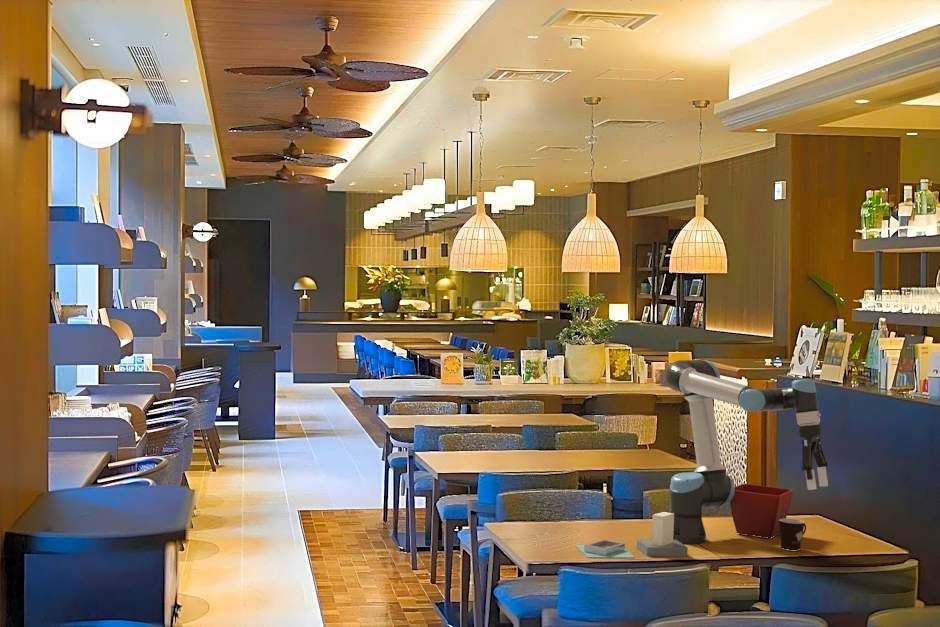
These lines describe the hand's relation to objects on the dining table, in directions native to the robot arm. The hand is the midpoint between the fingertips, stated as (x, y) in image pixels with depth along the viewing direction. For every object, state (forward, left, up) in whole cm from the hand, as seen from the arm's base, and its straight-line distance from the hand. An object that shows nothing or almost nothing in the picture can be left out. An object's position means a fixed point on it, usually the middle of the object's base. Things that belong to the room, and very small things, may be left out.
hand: (818, 488), depth 401 cm
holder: (-12, -70, -25) cm, 75 cm away
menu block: (-12, -50, -22) cm, 55 cm away
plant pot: (-43, -3, -25) cm, 49 cm away
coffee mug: (-18, 0, -25) cm, 30 cm away
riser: (-12, -50, -25) cm, 57 cm away
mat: (-12, -70, -25) cm, 75 cm away
